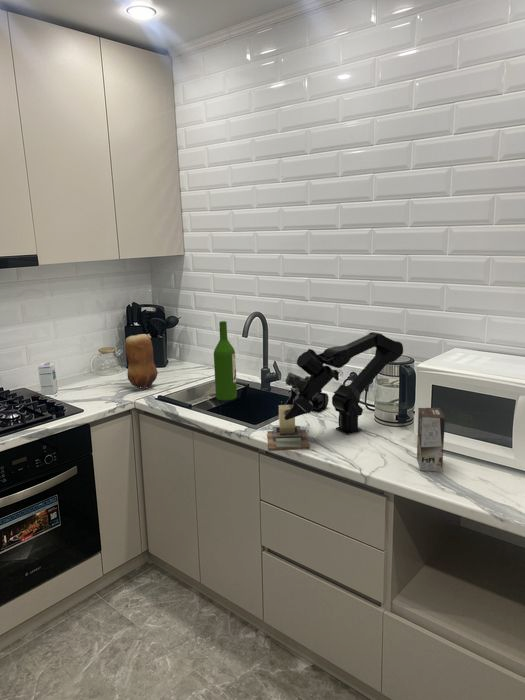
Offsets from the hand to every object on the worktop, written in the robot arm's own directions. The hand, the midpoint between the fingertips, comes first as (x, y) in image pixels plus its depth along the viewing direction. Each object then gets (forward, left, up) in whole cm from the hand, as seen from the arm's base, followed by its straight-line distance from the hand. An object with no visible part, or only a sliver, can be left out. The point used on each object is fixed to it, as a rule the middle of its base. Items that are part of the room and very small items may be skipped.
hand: (284, 414), depth 177 cm
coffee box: (-42, -22, -9) cm, 48 cm away
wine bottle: (+53, -7, -9) cm, 54 cm away
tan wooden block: (0, -1, -7) cm, 8 cm away
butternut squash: (+90, +16, -9) cm, 91 cm away
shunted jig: (-3, +1, -8) cm, 9 cm away
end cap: (+19, -27, -9) cm, 34 cm away
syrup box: (+105, +54, -9) cm, 118 cm away
